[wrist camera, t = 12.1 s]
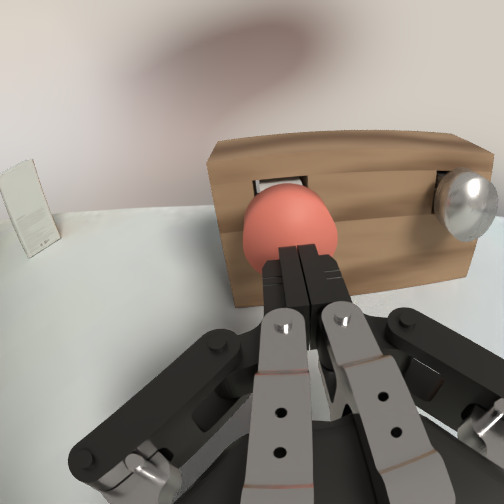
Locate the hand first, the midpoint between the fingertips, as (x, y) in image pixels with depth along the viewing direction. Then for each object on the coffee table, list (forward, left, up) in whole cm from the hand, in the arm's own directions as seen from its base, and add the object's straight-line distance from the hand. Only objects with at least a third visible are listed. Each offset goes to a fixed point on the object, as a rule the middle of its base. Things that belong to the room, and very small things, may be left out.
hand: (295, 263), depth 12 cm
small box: (-43, +1, -8) cm, 44 cm away
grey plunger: (+6, +14, -2) cm, 15 cm away
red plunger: (-4, +7, -2) cm, 8 cm away
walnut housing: (+1, +11, -8) cm, 14 cm away
